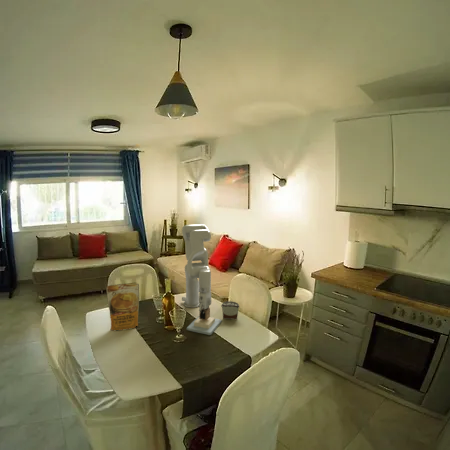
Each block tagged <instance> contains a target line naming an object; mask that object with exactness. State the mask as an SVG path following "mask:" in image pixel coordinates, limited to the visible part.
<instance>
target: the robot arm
mask: <svg viewBox="0 0 450 450" xmlns="http://www.w3.org/2000/svg"><path fill="white" fill-rule="evenodd" d="M181 234H182V237H183V240H184V243H185V245H184V246H185V258H186V260H187V262H186V264H185V265H184V273H185V296H182V297H181V301H183V306H184V307H186V308H188V309H189V308H190V309H191V308H195V309H196V308H198V311H200V318H201V319H205V309H207V308H210V306H211V305H212V291H211V290H212V271H211V268H210V267H209V255H208V249H206V248H205V244H204V242H210V241H211V239H212V234H211V231H210V229H209V228H208V227H207V225H206V224H205V223H203V224H201V223H200V224H186V225H183V226H182V229H181ZM197 261H198V262H197ZM199 261H200V262H199ZM202 307H203V308H202ZM202 309H204V310H202Z"/></svg>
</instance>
